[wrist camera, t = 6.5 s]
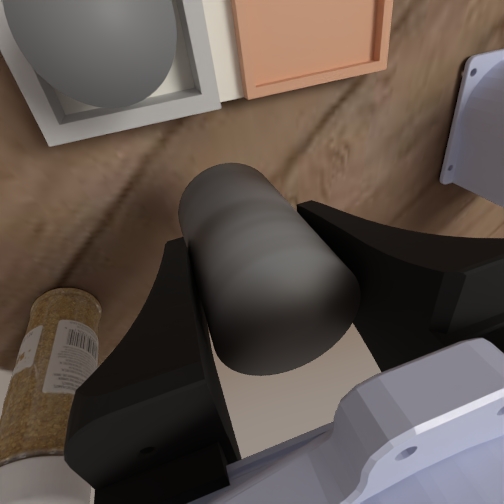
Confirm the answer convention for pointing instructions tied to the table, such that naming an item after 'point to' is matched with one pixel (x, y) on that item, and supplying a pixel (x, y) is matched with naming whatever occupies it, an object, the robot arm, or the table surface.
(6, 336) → the table surface
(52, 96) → the white cylinder holder tray
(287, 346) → the dark gray cylinder
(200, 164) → the table surface
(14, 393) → the sprinkles bottle
